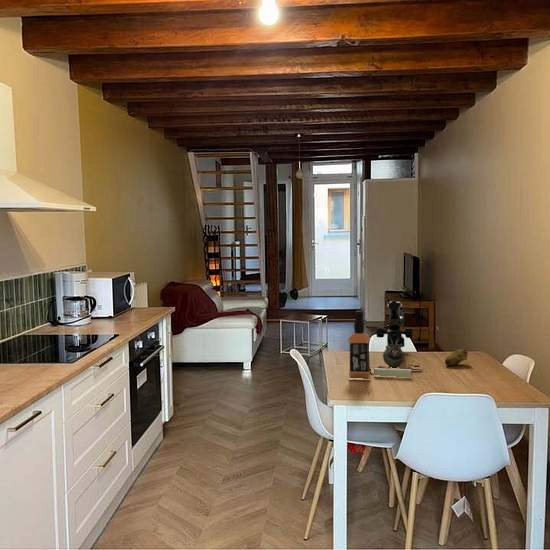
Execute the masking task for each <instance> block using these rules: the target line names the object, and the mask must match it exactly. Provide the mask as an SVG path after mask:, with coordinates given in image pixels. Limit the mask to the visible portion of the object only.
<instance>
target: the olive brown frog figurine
mask: <svg viewBox="0 0 550 550" xmlns="http://www.w3.org/2000/svg"><path fill="white" fill-rule="evenodd" d="M467 359H468V351H467V350H466V349H464V348H458V349H456V350H454V351H453V352H452V353H451V354H450V355H449V356H447V357H446V358H445V360H444V363H445V365H446V366H448V367H452V366H456V365H457V366H458V365H459V364H461V362H463V361H466V360H467Z"/></svg>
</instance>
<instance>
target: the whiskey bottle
mask: <svg viewBox="0 0 550 550" xmlns="http://www.w3.org/2000/svg"><path fill="white" fill-rule="evenodd" d="M363 312H364V311H362V310H355V311H354V319H355V320H354V324H353V329H354V332H352V333H351V334H350V335H349V337H348V343H349V371H348V378H349V377H350V378H363V379H370V376H371V377H372V374H371V369H370V368H371V365H370V363H371V362H370V341H371V336H370V335H369V334H368V333H366V332H365V325H364V321H363V319H364V313H363Z"/></svg>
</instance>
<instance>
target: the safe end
mask: <svg viewBox="0 0 550 550" xmlns="http://www.w3.org/2000/svg"><path fill="white" fill-rule="evenodd" d="M373 368H374V374H373V376H374V375H380V376H396V377H411V378H412V375H411V369H407V368H402V369H387V368H381V367H379V368H376V367H373Z"/></svg>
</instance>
